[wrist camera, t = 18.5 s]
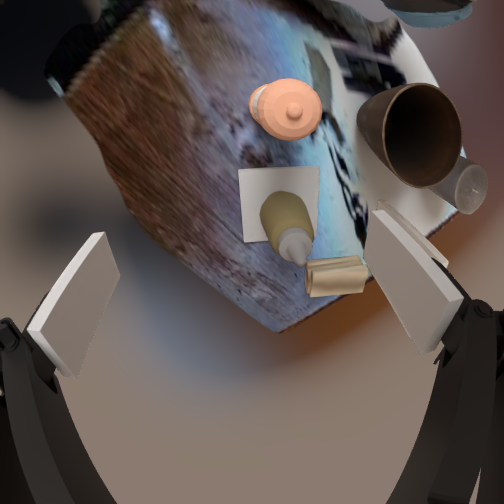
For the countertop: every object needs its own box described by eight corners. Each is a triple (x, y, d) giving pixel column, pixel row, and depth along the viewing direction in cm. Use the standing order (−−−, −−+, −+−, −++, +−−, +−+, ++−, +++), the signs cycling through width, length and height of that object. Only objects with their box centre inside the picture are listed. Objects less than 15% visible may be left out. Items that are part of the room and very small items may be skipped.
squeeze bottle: (248, 206, 48) (255, 265, 33) (281, 175, 45) (306, 221, 30) (278, 233, 51) (297, 298, 36) (310, 205, 48) (344, 261, 33)
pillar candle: (443, 138, 42) (492, 160, 29) (448, 179, 47) (492, 208, 34) (410, 150, 44) (458, 175, 31) (417, 192, 49) (459, 226, 36)
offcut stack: (304, 258, 56) (310, 274, 51) (359, 253, 56) (369, 268, 52) (302, 283, 59) (308, 299, 55) (354, 277, 60) (363, 292, 55)
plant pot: (414, 98, 38) (471, 109, 24) (396, 166, 46) (446, 198, 32) (346, 70, 36) (395, 64, 22) (329, 147, 44) (369, 174, 30)
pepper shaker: (285, 79, 37) (320, 69, 21) (297, 119, 41) (338, 136, 25) (242, 91, 38) (247, 86, 22) (256, 131, 42) (270, 154, 25)
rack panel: (378, 200, 49) (441, 262, 31) (384, 200, 49) (448, 261, 31) (366, 265, 58) (409, 337, 40) (372, 264, 58) (415, 336, 40)
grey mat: (238, 169, 45) (238, 171, 44) (317, 165, 45) (319, 167, 44) (243, 239, 53) (244, 242, 52) (314, 234, 53) (316, 237, 52)
